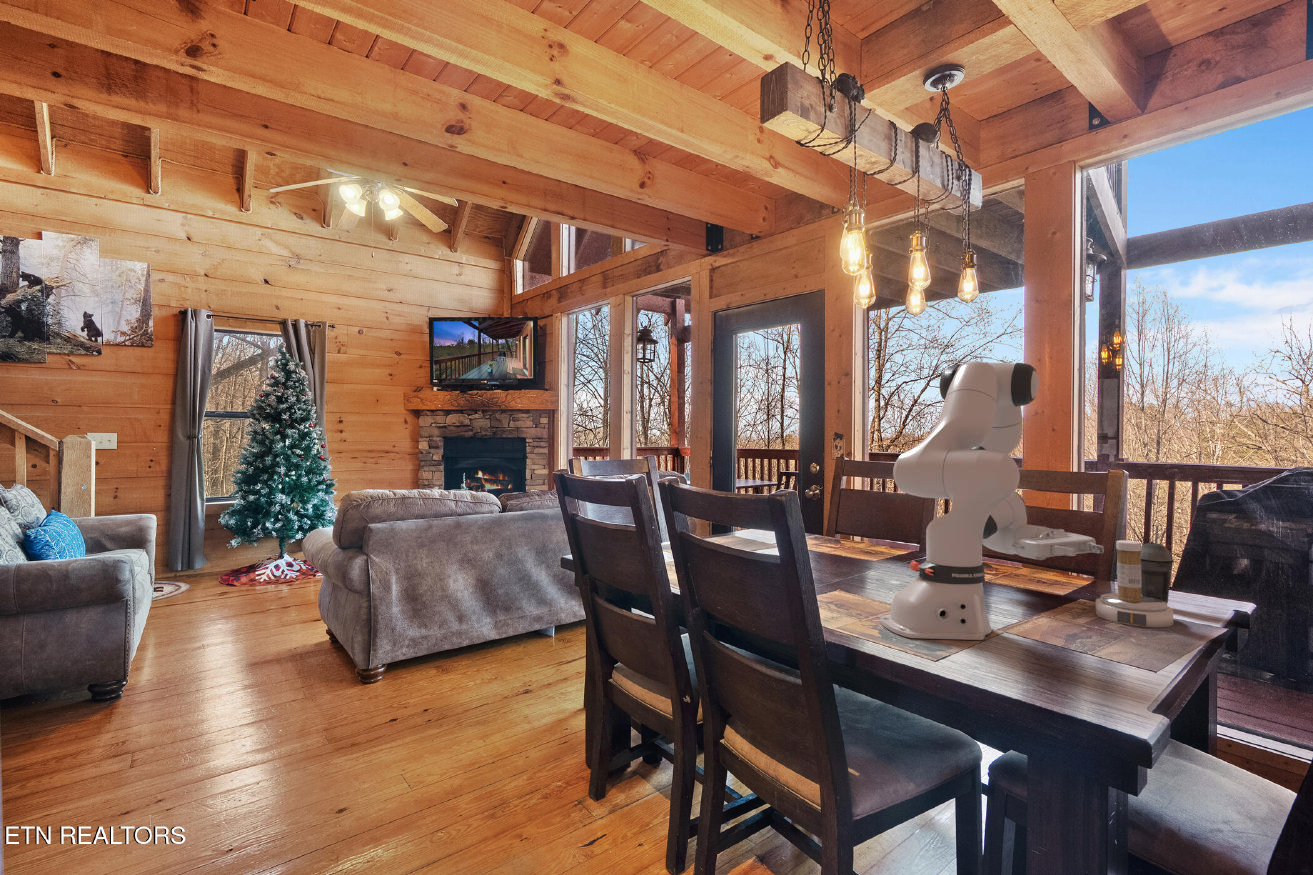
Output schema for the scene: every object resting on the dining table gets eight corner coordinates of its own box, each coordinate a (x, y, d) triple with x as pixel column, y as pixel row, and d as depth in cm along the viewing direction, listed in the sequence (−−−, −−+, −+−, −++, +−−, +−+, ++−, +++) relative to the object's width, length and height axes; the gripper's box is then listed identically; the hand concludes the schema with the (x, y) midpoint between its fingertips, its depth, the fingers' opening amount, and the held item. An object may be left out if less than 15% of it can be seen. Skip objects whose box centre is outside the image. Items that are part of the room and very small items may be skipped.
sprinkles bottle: (1139, 599, 140) (1138, 540, 140) (1144, 603, 136) (1143, 543, 136) (1115, 596, 142) (1114, 539, 143) (1119, 601, 138) (1118, 542, 138)
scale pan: (1131, 612, 133) (1131, 607, 133) (1087, 598, 145) (1087, 594, 145) (1182, 610, 134) (1181, 606, 134) (1134, 596, 146) (1134, 592, 146)
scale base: (1130, 628, 132) (1130, 614, 132) (1080, 610, 146) (1080, 597, 146) (1190, 626, 133) (1190, 612, 133) (1135, 608, 147) (1135, 596, 147)
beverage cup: (1160, 603, 152) (1159, 523, 152) (1182, 611, 145) (1181, 527, 145) (1128, 602, 153) (1127, 522, 153) (1149, 610, 145) (1148, 526, 146)
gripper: (1006, 532, 159) (1057, 541, 146) (1063, 528, 166) (1116, 535, 153) (1007, 557, 159) (1057, 567, 146) (1063, 551, 166) (1116, 560, 153)
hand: (1088, 551), depth 149 cm, fingers open, 8 cm apart
